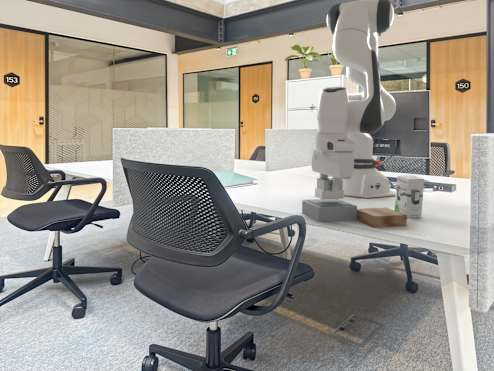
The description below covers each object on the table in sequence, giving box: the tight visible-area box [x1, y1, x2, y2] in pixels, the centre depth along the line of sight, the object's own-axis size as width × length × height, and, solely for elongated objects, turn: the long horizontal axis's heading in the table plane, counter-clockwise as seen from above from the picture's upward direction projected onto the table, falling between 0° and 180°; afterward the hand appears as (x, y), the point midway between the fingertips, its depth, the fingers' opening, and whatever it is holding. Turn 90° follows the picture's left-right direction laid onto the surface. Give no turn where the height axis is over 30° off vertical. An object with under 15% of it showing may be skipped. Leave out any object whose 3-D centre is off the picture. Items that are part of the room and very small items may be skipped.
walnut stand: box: [356, 207, 408, 228], centre depth 116 cm, size 10×10×3 cm
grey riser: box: [301, 198, 358, 223], centre depth 122 cm, size 12×12×4 cm
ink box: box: [394, 174, 425, 219], centre depth 125 cm, size 9×5×12 cm, turn 4°
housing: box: [314, 177, 345, 200], centre depth 122 cm, size 7×5×6 cm
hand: (329, 190), depth 122 cm, fingers closed on housing, 5 cm apart
